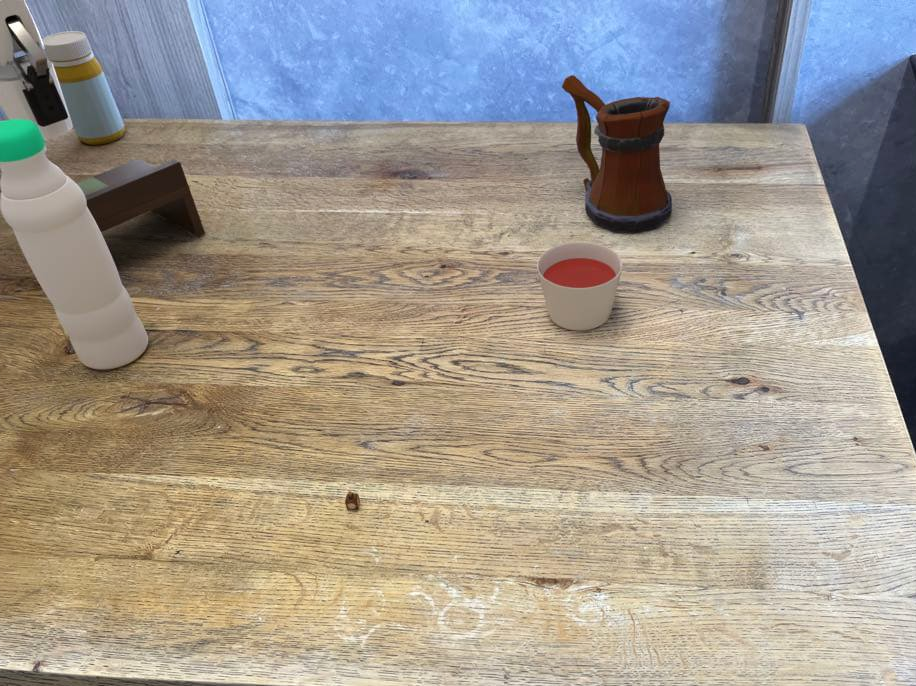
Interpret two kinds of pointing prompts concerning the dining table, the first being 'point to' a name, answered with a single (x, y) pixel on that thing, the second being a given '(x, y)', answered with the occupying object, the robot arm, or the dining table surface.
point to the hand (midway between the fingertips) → (37, 112)
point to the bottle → (84, 88)
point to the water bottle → (66, 251)
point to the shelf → (142, 195)
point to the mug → (623, 160)
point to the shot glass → (7, 91)
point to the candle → (579, 283)
